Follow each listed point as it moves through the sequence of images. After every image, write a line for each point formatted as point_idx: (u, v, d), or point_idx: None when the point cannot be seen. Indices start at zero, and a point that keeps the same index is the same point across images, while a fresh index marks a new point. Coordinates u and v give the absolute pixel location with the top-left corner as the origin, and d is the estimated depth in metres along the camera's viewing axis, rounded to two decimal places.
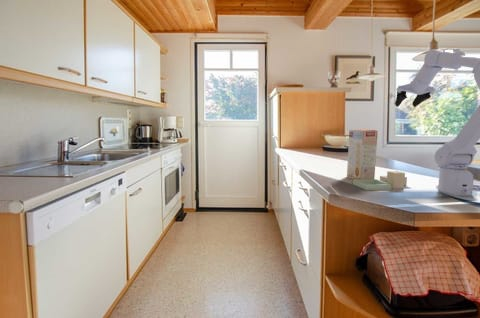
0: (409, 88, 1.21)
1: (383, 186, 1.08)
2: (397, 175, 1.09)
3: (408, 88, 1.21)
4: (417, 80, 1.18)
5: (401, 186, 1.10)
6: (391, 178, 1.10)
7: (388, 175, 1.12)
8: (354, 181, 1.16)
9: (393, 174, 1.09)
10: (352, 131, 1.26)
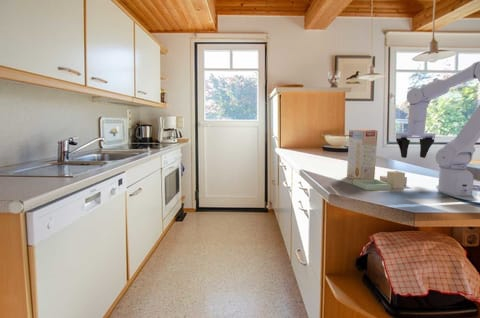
0: None
1: (383, 186, 1.08)
2: (397, 175, 1.09)
3: None
4: (411, 121, 1.15)
5: (401, 186, 1.10)
6: (391, 178, 1.10)
7: (388, 175, 1.12)
8: (354, 181, 1.16)
9: (393, 174, 1.09)
10: (352, 131, 1.26)
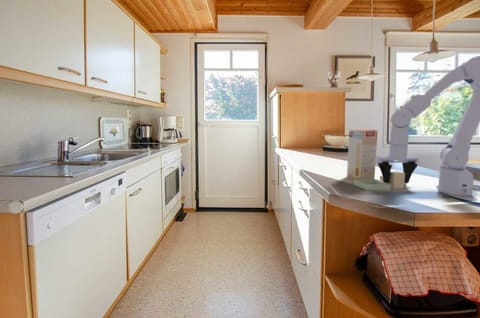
0: (389, 157, 1.10)
1: (383, 186, 1.08)
2: (397, 175, 1.09)
3: (388, 157, 1.10)
4: (393, 145, 1.09)
5: (401, 186, 1.10)
6: (391, 178, 1.10)
7: None
8: (354, 181, 1.16)
9: (393, 174, 1.09)
10: (352, 131, 1.26)
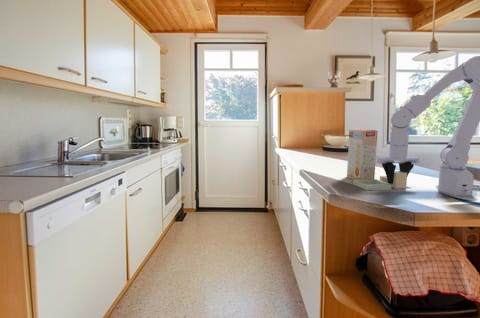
0: (389, 158, 1.10)
1: (383, 186, 1.08)
2: (399, 175, 1.09)
3: (388, 158, 1.10)
4: (393, 145, 1.09)
5: (403, 186, 1.09)
6: None
7: None
8: (354, 181, 1.16)
9: (395, 174, 1.09)
10: (352, 131, 1.26)
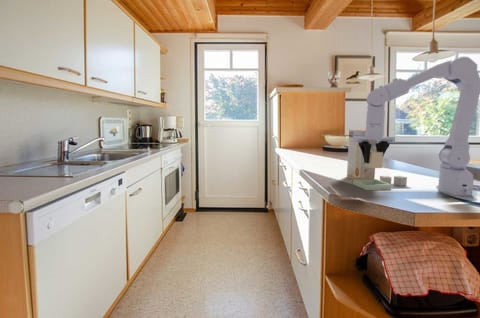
0: None
1: (383, 186, 1.08)
2: (374, 154, 1.08)
3: None
4: (368, 124, 1.09)
5: (379, 166, 1.09)
6: None
7: None
8: (354, 181, 1.16)
9: (371, 153, 1.09)
10: (352, 131, 1.26)
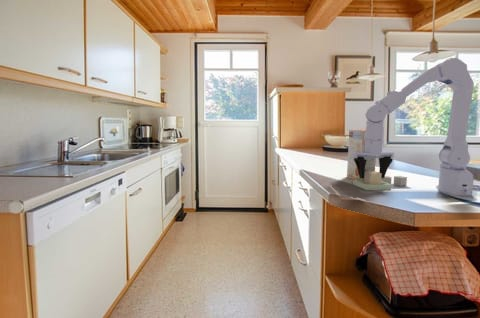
0: (365, 152, 1.11)
1: (383, 186, 1.08)
2: (373, 175, 1.09)
3: None
4: (367, 140, 1.10)
5: None
6: (368, 178, 1.11)
7: (365, 176, 1.13)
8: (354, 181, 1.16)
9: (369, 174, 1.10)
10: (352, 131, 1.26)
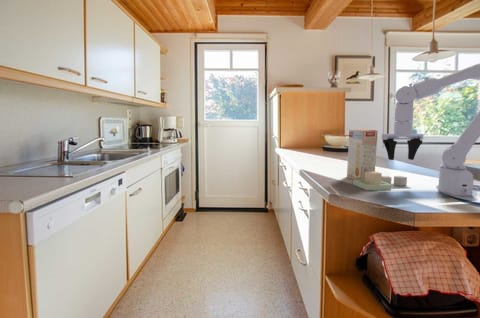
0: None
1: (383, 186, 1.08)
2: (373, 175, 1.09)
3: None
4: (398, 122, 1.10)
5: None
6: (368, 178, 1.11)
7: (365, 176, 1.13)
8: (354, 181, 1.16)
9: (369, 174, 1.10)
10: (352, 131, 1.26)
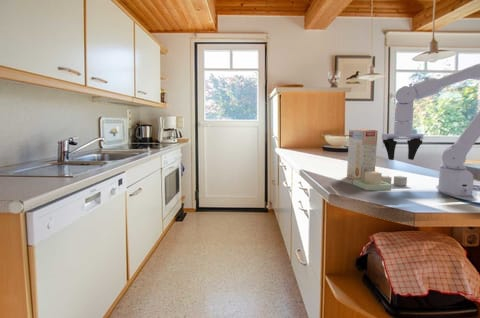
0: None
1: (383, 186, 1.08)
2: (373, 175, 1.09)
3: None
4: (398, 122, 1.10)
5: None
6: (368, 178, 1.11)
7: (365, 176, 1.13)
8: (354, 181, 1.16)
9: (369, 174, 1.10)
10: (352, 131, 1.26)
